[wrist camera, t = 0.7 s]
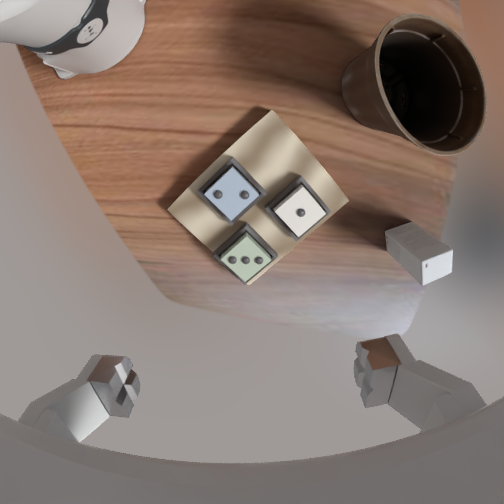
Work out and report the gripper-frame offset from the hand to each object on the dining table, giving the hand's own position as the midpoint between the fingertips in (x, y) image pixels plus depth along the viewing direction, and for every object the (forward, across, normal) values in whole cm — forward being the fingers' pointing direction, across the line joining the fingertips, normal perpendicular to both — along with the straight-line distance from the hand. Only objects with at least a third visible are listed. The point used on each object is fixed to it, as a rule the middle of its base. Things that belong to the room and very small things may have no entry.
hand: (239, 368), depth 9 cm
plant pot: (+35, -20, -16) cm, 43 cm away
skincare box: (+37, -24, +8) cm, 45 cm away
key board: (+35, -1, 0) cm, 35 cm away
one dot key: (+32, -6, +1) cm, 33 cm away
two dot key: (+31, +3, -2) cm, 32 cm away
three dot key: (+32, +2, +7) cm, 33 cm away
